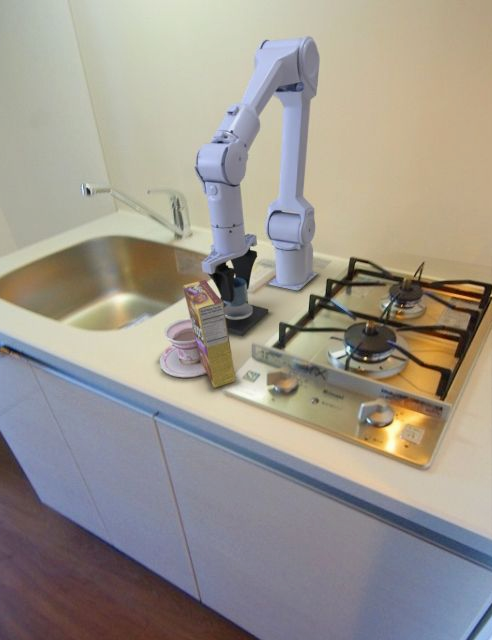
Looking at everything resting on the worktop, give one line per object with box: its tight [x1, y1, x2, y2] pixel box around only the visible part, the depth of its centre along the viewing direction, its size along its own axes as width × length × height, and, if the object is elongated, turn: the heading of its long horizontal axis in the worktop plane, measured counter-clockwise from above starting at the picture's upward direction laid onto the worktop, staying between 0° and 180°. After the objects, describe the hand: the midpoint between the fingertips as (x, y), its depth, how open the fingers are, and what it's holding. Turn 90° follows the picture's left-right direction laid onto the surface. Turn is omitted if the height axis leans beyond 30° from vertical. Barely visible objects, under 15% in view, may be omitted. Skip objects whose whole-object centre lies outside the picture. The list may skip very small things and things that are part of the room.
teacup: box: [159, 318, 207, 378], centre depth 77 cm, size 12×12×6 cm
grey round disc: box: [224, 302, 253, 320], centre depth 85 cm, size 6×6×1 cm
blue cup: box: [224, 276, 249, 307], centre depth 82 cm, size 5×5×4 cm
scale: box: [219, 297, 269, 337], centre depth 88 cm, size 11×10×3 cm
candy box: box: [182, 279, 236, 389], centre depth 70 cm, size 9×4×15 cm, turn 23°
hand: (235, 294), depth 83 cm, fingers closed on blue cup, 5 cm apart
